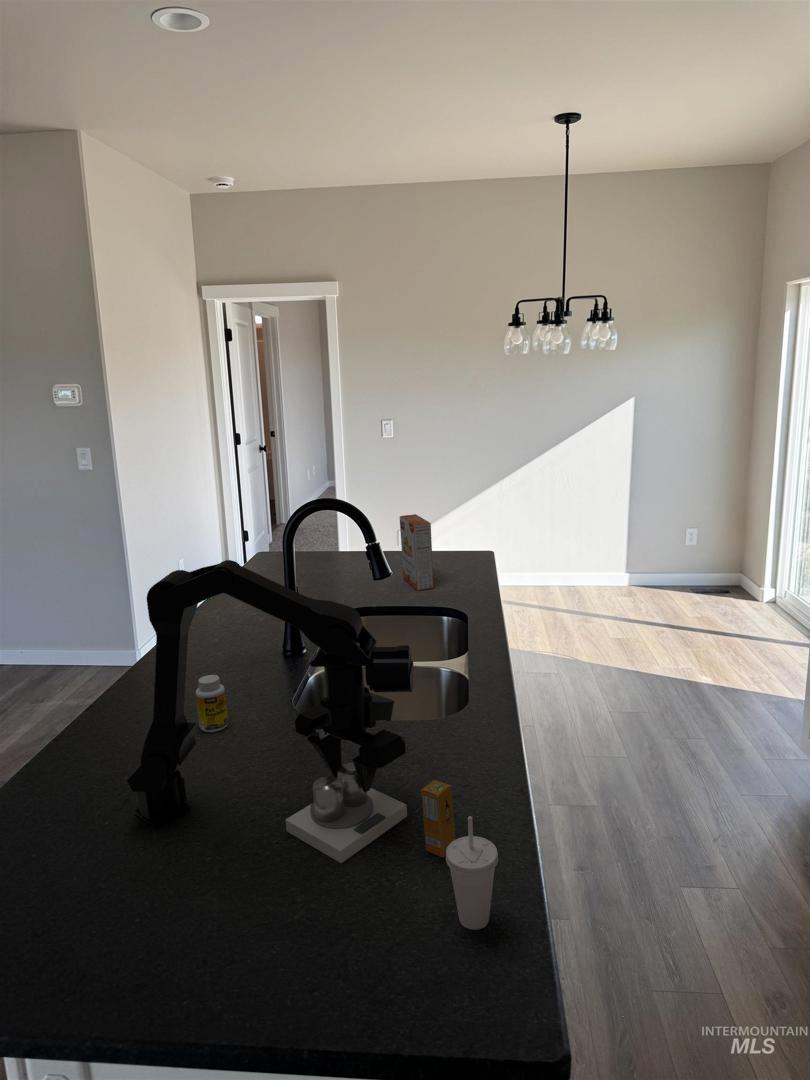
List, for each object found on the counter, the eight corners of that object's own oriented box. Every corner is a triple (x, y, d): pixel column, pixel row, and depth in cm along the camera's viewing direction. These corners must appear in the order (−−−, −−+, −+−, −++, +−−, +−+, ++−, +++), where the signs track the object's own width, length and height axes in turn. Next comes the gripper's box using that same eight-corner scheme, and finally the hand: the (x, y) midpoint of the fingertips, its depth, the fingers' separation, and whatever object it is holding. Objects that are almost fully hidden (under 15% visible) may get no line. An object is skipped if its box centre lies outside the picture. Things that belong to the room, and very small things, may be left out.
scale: (341, 863, 105) (339, 847, 105) (286, 831, 113) (285, 816, 113) (407, 816, 115) (406, 801, 115) (352, 789, 123) (351, 775, 123)
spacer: (350, 811, 113) (348, 782, 112) (329, 826, 110) (327, 796, 108) (329, 801, 116) (327, 773, 114) (309, 815, 112) (306, 786, 111)
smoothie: (495, 899, 97) (493, 803, 94) (503, 936, 91) (501, 834, 87) (446, 902, 97) (442, 806, 93) (451, 939, 90) (446, 838, 87)
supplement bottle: (205, 736, 144) (199, 687, 141) (196, 725, 148) (189, 678, 146) (233, 727, 147) (227, 679, 144) (223, 717, 151) (217, 670, 149)
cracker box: (402, 579, 239) (398, 515, 234) (419, 577, 241) (416, 513, 236) (415, 591, 226) (412, 524, 221) (434, 588, 227) (431, 521, 223)
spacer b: (373, 797, 116) (372, 768, 115) (353, 810, 113) (351, 780, 112) (354, 787, 119) (352, 759, 118) (333, 800, 116) (331, 771, 115)
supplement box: (437, 838, 110) (434, 777, 107) (456, 847, 107) (454, 785, 105) (423, 850, 107) (420, 788, 105) (442, 859, 105) (440, 796, 103)
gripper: (427, 687, 111) (431, 781, 115) (341, 659, 124) (347, 744, 127) (375, 715, 103) (382, 815, 107) (289, 682, 116) (297, 772, 119)
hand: (352, 783), depth 115 cm, fingers open, 6 cm apart
